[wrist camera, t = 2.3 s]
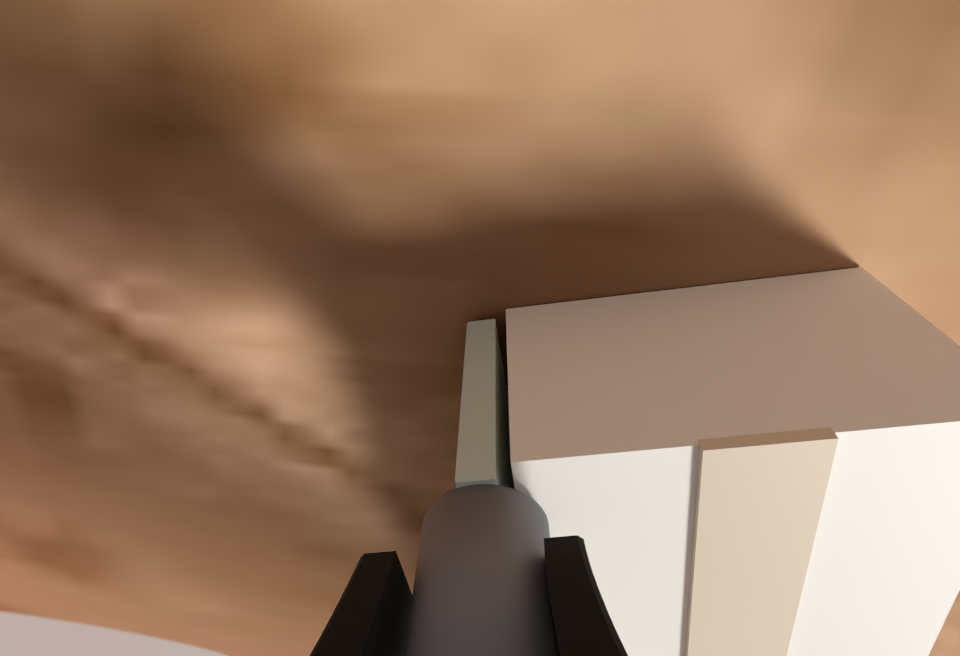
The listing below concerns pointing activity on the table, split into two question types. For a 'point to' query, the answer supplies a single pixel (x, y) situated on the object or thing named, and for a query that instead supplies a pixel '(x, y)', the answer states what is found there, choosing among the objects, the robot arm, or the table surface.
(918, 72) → the table surface
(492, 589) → the flap
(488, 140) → the table surface
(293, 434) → the table surface
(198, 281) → the table surface
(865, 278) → the carton
